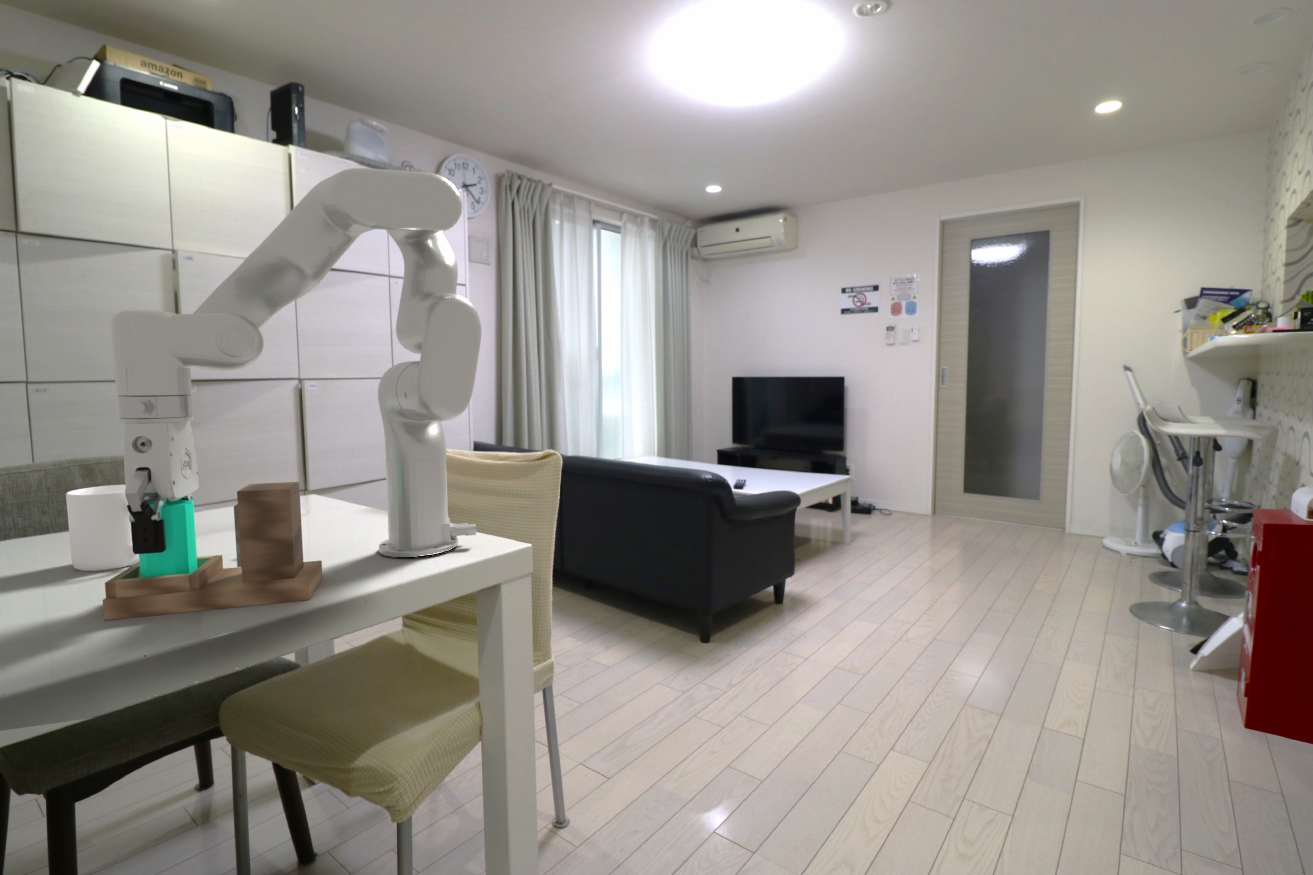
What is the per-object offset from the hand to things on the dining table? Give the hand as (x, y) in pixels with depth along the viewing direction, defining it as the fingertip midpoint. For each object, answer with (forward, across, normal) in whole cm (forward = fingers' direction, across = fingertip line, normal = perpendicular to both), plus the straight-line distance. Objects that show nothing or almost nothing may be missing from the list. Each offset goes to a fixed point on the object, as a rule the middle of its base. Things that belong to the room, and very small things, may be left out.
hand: (165, 542), depth 82 cm
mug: (+8, +23, +14) cm, 28 cm away
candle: (+5, 0, 0) cm, 5 cm away
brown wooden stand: (+8, 0, -6) cm, 10 cm away
